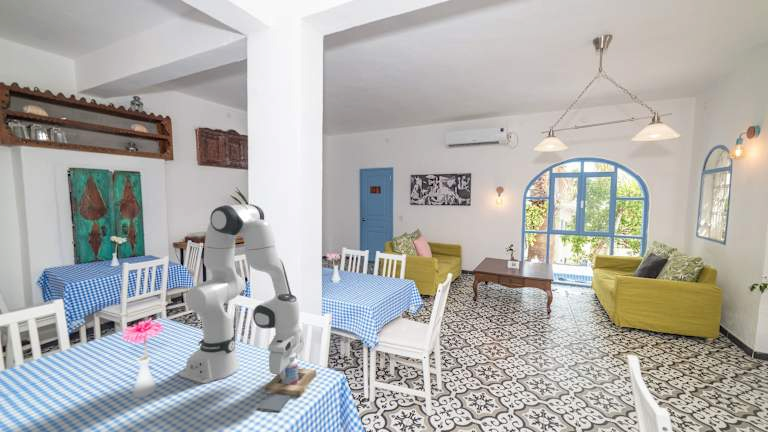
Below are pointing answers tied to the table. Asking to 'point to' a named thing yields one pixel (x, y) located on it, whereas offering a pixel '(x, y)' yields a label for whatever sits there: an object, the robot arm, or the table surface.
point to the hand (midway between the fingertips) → (288, 372)
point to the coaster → (274, 402)
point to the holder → (293, 390)
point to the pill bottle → (291, 372)
